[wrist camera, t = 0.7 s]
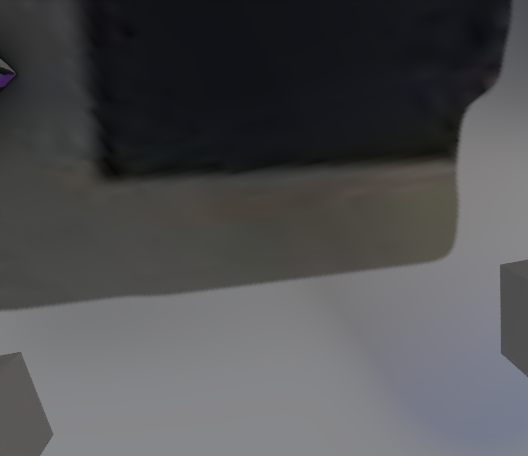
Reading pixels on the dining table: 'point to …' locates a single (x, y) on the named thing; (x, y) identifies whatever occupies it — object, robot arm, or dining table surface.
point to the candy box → (5, 73)
